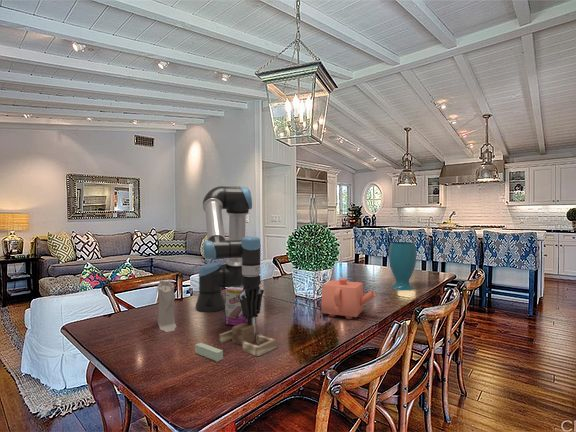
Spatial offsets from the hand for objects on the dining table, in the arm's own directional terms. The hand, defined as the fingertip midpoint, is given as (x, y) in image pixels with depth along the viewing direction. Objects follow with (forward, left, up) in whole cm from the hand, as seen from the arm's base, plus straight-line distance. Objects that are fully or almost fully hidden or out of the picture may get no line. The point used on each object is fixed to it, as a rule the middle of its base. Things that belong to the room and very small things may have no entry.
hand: (251, 332), depth 141 cm
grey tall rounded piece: (-39, -13, -2) cm, 41 cm away
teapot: (+18, +51, -2) cm, 54 cm away
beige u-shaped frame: (+4, -6, -2) cm, 8 cm away
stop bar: (0, -22, -2) cm, 22 cm away
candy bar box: (-16, +8, -2) cm, 18 cm away
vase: (+18, +126, -2) cm, 128 cm away
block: (0, -5, -2) cm, 5 cm away
